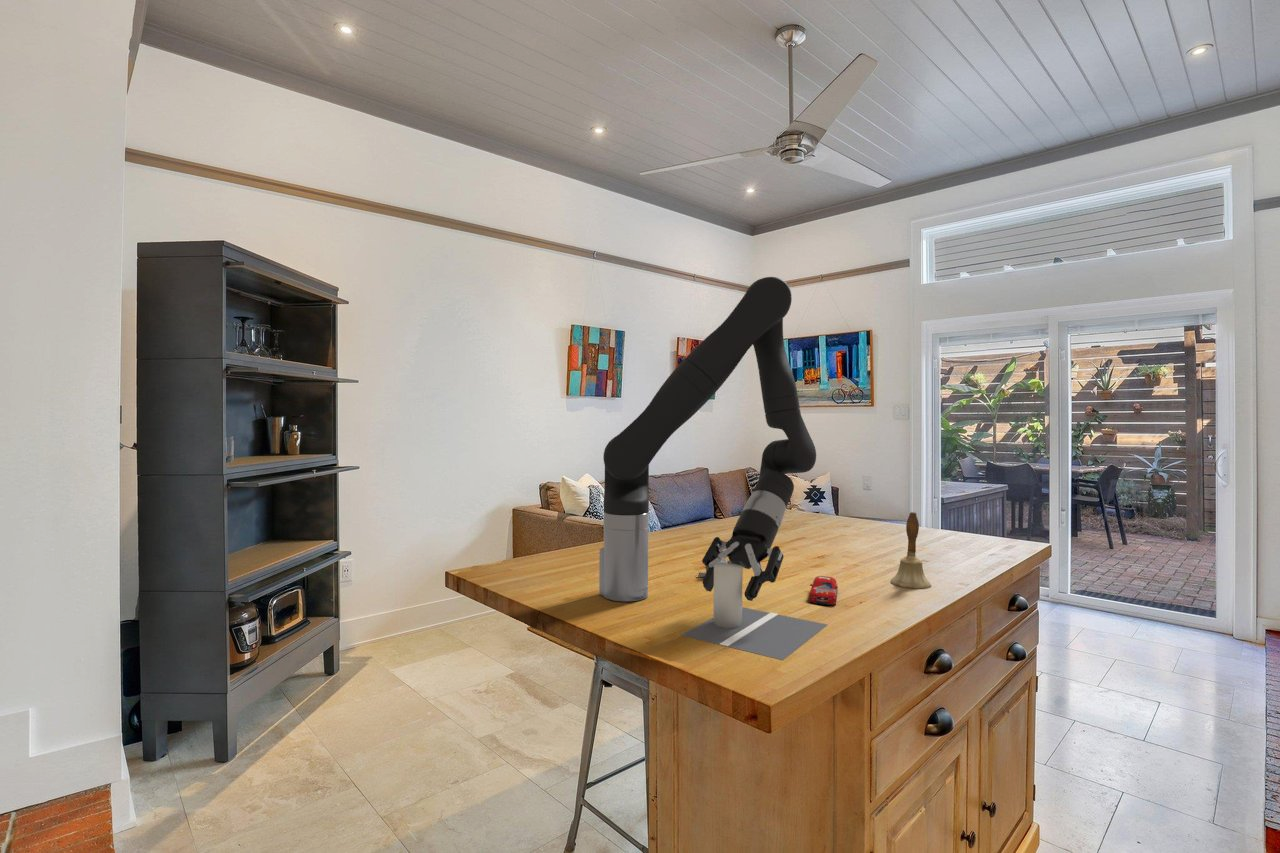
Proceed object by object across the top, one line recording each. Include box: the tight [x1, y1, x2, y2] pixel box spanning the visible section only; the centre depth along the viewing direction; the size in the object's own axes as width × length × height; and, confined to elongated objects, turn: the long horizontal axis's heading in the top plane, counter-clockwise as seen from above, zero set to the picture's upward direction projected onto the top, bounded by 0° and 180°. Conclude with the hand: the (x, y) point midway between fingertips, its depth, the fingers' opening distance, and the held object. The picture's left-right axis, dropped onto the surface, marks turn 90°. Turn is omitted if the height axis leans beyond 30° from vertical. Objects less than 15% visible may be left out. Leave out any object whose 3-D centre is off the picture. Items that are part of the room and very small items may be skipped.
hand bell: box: [890, 511, 932, 590], centre depth 139 cm, size 8×8×16 cm
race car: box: [809, 575, 839, 606], centre depth 128 cm, size 13×5×4 cm, turn 159°
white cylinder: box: [712, 563, 744, 628], centre depth 110 cm, size 5×5×10 cm
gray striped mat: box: [681, 606, 829, 661], centre depth 107 cm, size 18×20×1 cm
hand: (726, 593), depth 109 cm, fingers open, 8 cm apart
